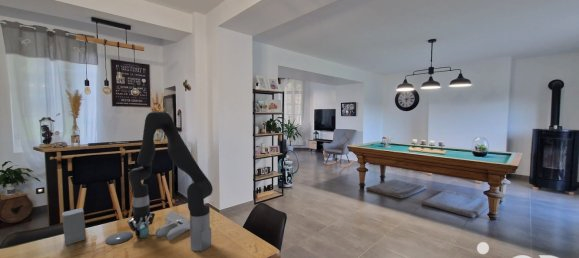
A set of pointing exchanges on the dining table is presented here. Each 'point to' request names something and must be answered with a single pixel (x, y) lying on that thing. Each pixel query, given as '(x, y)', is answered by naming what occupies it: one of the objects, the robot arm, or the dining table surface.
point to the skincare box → (74, 226)
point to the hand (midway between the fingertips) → (142, 234)
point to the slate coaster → (119, 238)
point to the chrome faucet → (173, 226)
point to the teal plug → (144, 231)
